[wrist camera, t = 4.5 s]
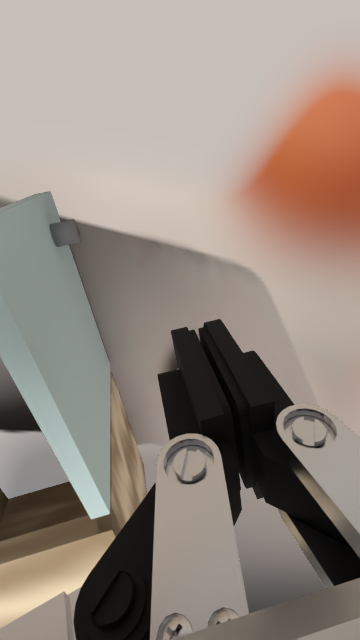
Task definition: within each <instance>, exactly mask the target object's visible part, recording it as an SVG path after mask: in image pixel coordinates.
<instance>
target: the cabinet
mask: <svg viewBox="0 0 360 640" xmlns="http://www.w3.org/2000/svg"><path fill="white" fill-rule="evenodd" d="M146 495H147V490H146V481H145V472H144V464H143V461H142V459H141V456H140V453H139V450H138V447H137V444H136V441H135V438H134V435H133V433H132V430H131V427H130V424H129V421H128V418H127V415H126V412H125V410H124V407H123V404H122V401H121V398H120V395H119V392H118V389H117V386H116V384H115V381H114V378H113V375H112V372H110V514H108V515H105V516H101V517H98V518H95V519H91V518H90V517H89V515H88V513H87V511H86V509H85V508H84V506H83V504H82V502H81V500H80V499H79V497H78V495H77V493H76V492H75V490H74V488H73V486H72V484H71V483H70V482H66V483H63V484H60V485H56V486H53V487H49V488H45V489H42V490H38V491H35V492H32V493H28V494H25V495H21V496H18V497H14V498H11V499H8V498H7V497H6V496H5V494H4V493H3V492H2V490H1V489H0V628H2V627H4V626H6V625H7V624H9V623H11V622H12V621H14V620H16V619H17V618H19V617H21V616H23V615H24V614H26V613H28V612H29V611H31V610H33V609H35V608H36V607H38V606H40V605H41V604H43V603H45V602H47V601H48V600H50V599H52V598H53V597H55V596H57V595H58V594H60V593H62V592H65V593H66V594H67V595H68V594H70V593H71V592H73V591H75V590H76V589H78V588H80V587H81V586H82V585H83V584H84V582H85V580H86V578H87V577H88V575H89V574H90V572H91V571H92V569H93V568H94V567H95V565H96V564H97V562H98V561H99V560H100V558H101V557H102V556H103V554H104V553H105V551H106V550H107V549H108V547H109V546H110V545H111V543H112V542H113V540H114V539H115V538H116V536H117V535H118V534H119V532H120V531H121V529H122V528H123V527H124V525H125V524H126V523H127V521H128V520H129V518H130V517H131V516H132V514H133V513H134V512H135V510H136V509H137V507H138V506H139V505H140V503H141V502H142V500H143V499H144V498H145V496H146Z"/></svg>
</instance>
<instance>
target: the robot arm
mask: <svg viewBox="0 0 360 640" xmlns="http://www.w3.org/2000/svg"><path fill="white" fill-rule="evenodd" d="M171 334H172V339H173V344H174V349H175V354H176V358H177V363H178V368H179V369H177V370H173V371H169V372H165V373H161V374H158V380H159V386H160V391H161V396H162V402H163V407H164V412H165V418H166V423H167V428H168V433H169V439H170V441H169V442H168V443H167V444H166V445H165V446H164V447H163V448H162V450H161V452H160V454H159V455H158V460H157V468H156V483H155V484H154V485H153V487H152V488H151V489H150V491H149V492H148V494H147V495H146V496H145V498H144V499H143V500H142V502H141V503H140V505H139V506H138V507H137V509H136V510H135V512H134V513H133V514H132V516H131V517H130V518H129V520H128V521H127V523H126V524H125V525H124V527H123V528H122V529H121V531H120V532H119V534H118V535H117V536H116V538H115V539H114V540H113V542H112V543H111V545H110V546H109V547H108V549H107V550H106V551H105V553H104V554H103V556H102V557H101V558H100V560H99V561H98V562H97V564H96V565H95V567H94V568H93V569H92V571H91V572H90V574H89V575H88V577H87V578H86V580H85V582H84V584H83V585H82V586H81V587H80V588H78V589H76V590H75V591H73V592H71V593H70V594H68V595H67V594H66V593H65V592H62V593H60V594H58V595H57V596H55V597H53V598H52V599H50V600H48V601H47V602H45V603H43V604H41V605H40V606H38V607H36V608H35V609H33V610H31V611H29V612H28V613H26V614H24V615H23V616H21V617H19V618H17V619H16V620H14V621H12V622H11V623H9V624H7V625H6V626H4V627H2V628H0V640H360V438H359V437H358V436H357V435H356V434H355V433H354V432H353V431H352V430H350V429H349V428H348V427H347V426H346V425H345V424H344V423H343V422H342V421H340V420H339V419H338V418H337V417H336V416H335V415H333V414H332V413H331V412H329V411H328V410H326V409H324V408H321V407H319V406H315V405H310V404H296V405H294V404H293V402H292V401H291V399H290V398H289V397H288V395H287V394H286V393H285V391H284V390H283V389H282V387H281V386H280V385H279V383H278V382H277V380H276V379H275V378H274V376H273V375H272V374H271V372H270V371H269V370H268V368H267V367H266V365H265V364H264V363H263V361H262V360H261V359H260V357H259V356H258V355H257V353H256V352H255V351H250V352H245V353H243V352H242V351H241V349H240V348H239V346H238V345H237V343H236V342H235V340H234V339H233V337H232V336H231V334H230V333H229V331H228V330H227V328H226V327H225V325H224V324H223V322H222V321H221V320H220V319H218V320H214V321H209V322H205V323H204V327H203V328H199V336H200V341H199V339H198V337H197V334H196V332H195V330H190V331H189V330H188V328H187V327H184V328H180V329H176V330H171ZM239 473H240V475H241V478H242V480H243V483H244V485H245V487H246V488H251V487H252V488H253V490H254V492H255V495H256V497H257V499H260V498H263V497H264V499H265V501H266V503H268V504H270V505H272V506H274V507H276V508H278V511H279V513H280V515H281V518H282V519H283V521H284V523H285V524H286V526H287V527H288V529H289V531H290V532H291V534H292V535H293V537H294V539H295V540H296V542H297V543H298V545H299V546H300V548H301V550H302V551H303V553H304V555H305V556H306V558H307V559H308V561H309V563H310V564H311V566H312V567H313V569H314V570H315V572H316V573H317V575H318V577H319V578H320V580H321V582H322V583H323V585H324V586H325V588H326V589H324V590H321V591H318V592H315V593H312V594H309V595H306V596H302V597H299V598H296V599H293V600H290V601H287V602H284V603H281V604H278V605H275V606H272V607H269V608H266V609H263V610H259V611H256V612H253V613H250V614H249V611H248V605H247V600H246V594H245V588H244V583H243V577H242V572H241V566H240V560H239V554H238V549H237V543H236V537H235V532H234V525H235V523H236V521H237V518H238V517H239V514H240V512H241V510H242V508H241V498H240V490H241V487H240V478H239Z"/></svg>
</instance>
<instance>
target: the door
mask: <svg viewBox="0 0 360 640" xmlns="http://www.w3.org/2000/svg"><path fill="white" fill-rule="evenodd" d="M80 242H81V239H80V234H79V230H78V227H77V225H76V222H75V220H74V219H72V220H67V221H62V222H61V221H60V218H59V215H58V212H57V209H56V206H55V203H54V201H53V198H52V195H51V192H44V193H39V194H35V195H32V196H30V197H27V198H25V199H22V200H20V201H17V202H14V203H12V204H9V205H6V206H4V207H1V208H0V357H1V359H2V361H3V363H4V364H5V366H6V368H7V370H8V371H9V373H10V375H11V377H12V379H13V380H14V382H15V384H16V386H17V388H18V389H19V391H20V393H21V395H22V397H23V398H24V400H25V402H26V404H27V406H28V407H29V409H30V411H31V413H32V414H33V416H34V418H35V420H36V422H37V423H38V425H39V427H40V429H41V431H42V432H43V434H44V436H45V438H46V439H47V441H48V443H49V445H50V447H51V448H52V450H53V452H54V454H55V455H56V457H57V459H58V461H59V463H60V464H61V466H62V468H63V470H64V472H65V474H66V475H67V477H68V479H69V481H70V483H71V484H72V486H73V488H74V490H75V492H76V493H77V495H78V497H79V499H80V500H81V502H82V504H83V506H84V508H85V509H86V511H87V513H88V515H89V517H90V518H91V519H95V518H98V517H101V516H105V515H108V514H110V363H109V360H108V357H107V354H106V351H105V348H104V345H103V342H102V340H101V337H100V334H99V331H98V328H97V325H96V322H95V319H94V316H93V313H92V311H91V308H90V305H89V302H88V299H87V296H86V293H85V290H84V287H83V284H82V282H81V279H80V276H79V273H78V270H77V267H76V264H75V261H74V258H73V255H72V253H71V250H70V247H69V245H70V244H75V243H80Z"/></svg>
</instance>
